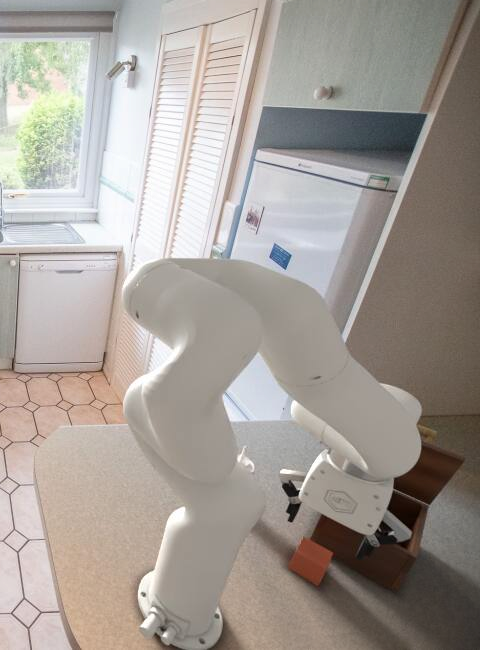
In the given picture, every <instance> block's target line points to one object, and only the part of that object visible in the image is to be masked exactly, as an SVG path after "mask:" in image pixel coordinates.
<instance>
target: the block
mask: <svg viewBox="0 0 480 650" xmlns="http://www.w3.org/2000/svg"><path fill="white" fill-rule="evenodd" d="M332 556H333V552H331V551H329V550H327V549H326V548H324V547H322V546H320V545H318V544H317V543H315V542H313V541H311V540H310V538H308V537H306V536H304V535H303V536H302V537H301V540H300V542H299V544H298V545H297V548H296V550H295V552H294V554H293V556H292V558H291V560H290V562H289V566H288V570H291V571H292V572H294V573H296V574H298V575H299V576H300V577H302V578H303V579H305V580H307V581H309V582H310V583H312V584H313V585H315V586H316V587H319V585H320V584H321V582H322V579H323V578H324V576H325V574H326V572H327V570H328V567H329V565H330V563H331V560H332V558H333V557H332Z"/></svg>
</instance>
